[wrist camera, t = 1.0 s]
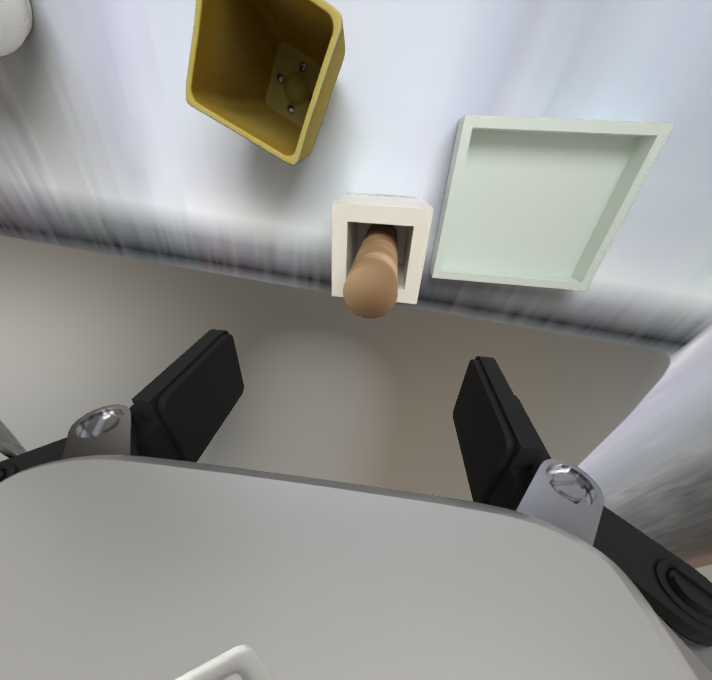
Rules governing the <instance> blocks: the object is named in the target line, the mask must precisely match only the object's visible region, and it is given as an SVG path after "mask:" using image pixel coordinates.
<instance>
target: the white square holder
mask: <svg viewBox="0 0 712 680" xmlns="http://www.w3.org/2000/svg"><path fill="white" fill-rule="evenodd" d="M433 211H434V209H433V208H432V207H431V206H430V204H429V203H428V202H427V201H426V199H425V198H420V197H404V196H389V195H373V194H358V193H347V194H346V195H344V196H342V197H341V198H339V199H337V200H336V201H334V202H332V296H339V297H343V287H344V283H345V281H346V279H347V276H348V274H349V272H350V270H351V267H352V265H353V263H354V260H355V258H356V256H357V254H358V251H359V249H360V247H361V244H362V242H363V240H364V238H365V235H366V233H367V231H368V229H369V227H370V226H371V225H372V224H373V223H375V224H389V225H393V226H394V227H395V229H396V231H397V264H398V296H397V301H396V302H401V303H412V304H417V299H418V293H419V288H420V282H421V277H422V271H423V266H424V260H425V255H426V249H427V244H428V238H429V233H430V227H431V222H432V216H433Z"/></svg>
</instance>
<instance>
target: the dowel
mask: <svg viewBox="0 0 712 680" xmlns="http://www.w3.org/2000/svg"><path fill="white" fill-rule="evenodd" d="M397 296H398V264H397V231H396V229H395V227H394V226H393V225H389V224H375V223H373V224H372V225H371V226H370V227H369V229H368V231H367V233H366V235H365V238H364V240H363V242H362V244H361V247H360V249H359V251H358V254H357V256H356V258H355V260H354V263H353V265H352V267H351V270H350V272H349V274H348V276H347V279H346V281H345V283H344V287H343V297H344V301H345V303H346V305H347V306H348V308H349V309H350V310H351V311H352V312H354V313H355V314H357V315H359V316H361V317H364V318H378V317H381V316H383V315H385V314H387V313H388V312H389V311H390V310H391V309H392V308H393V307H394V305H395V303H396V301H397Z"/></svg>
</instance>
